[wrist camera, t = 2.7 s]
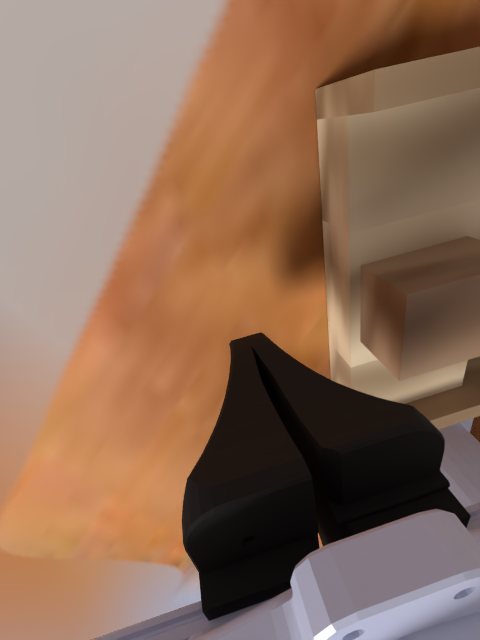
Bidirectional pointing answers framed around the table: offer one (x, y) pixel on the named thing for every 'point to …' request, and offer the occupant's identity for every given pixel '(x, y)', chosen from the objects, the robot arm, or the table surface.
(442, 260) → the walnut block
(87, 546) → the table surface
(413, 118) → the board
